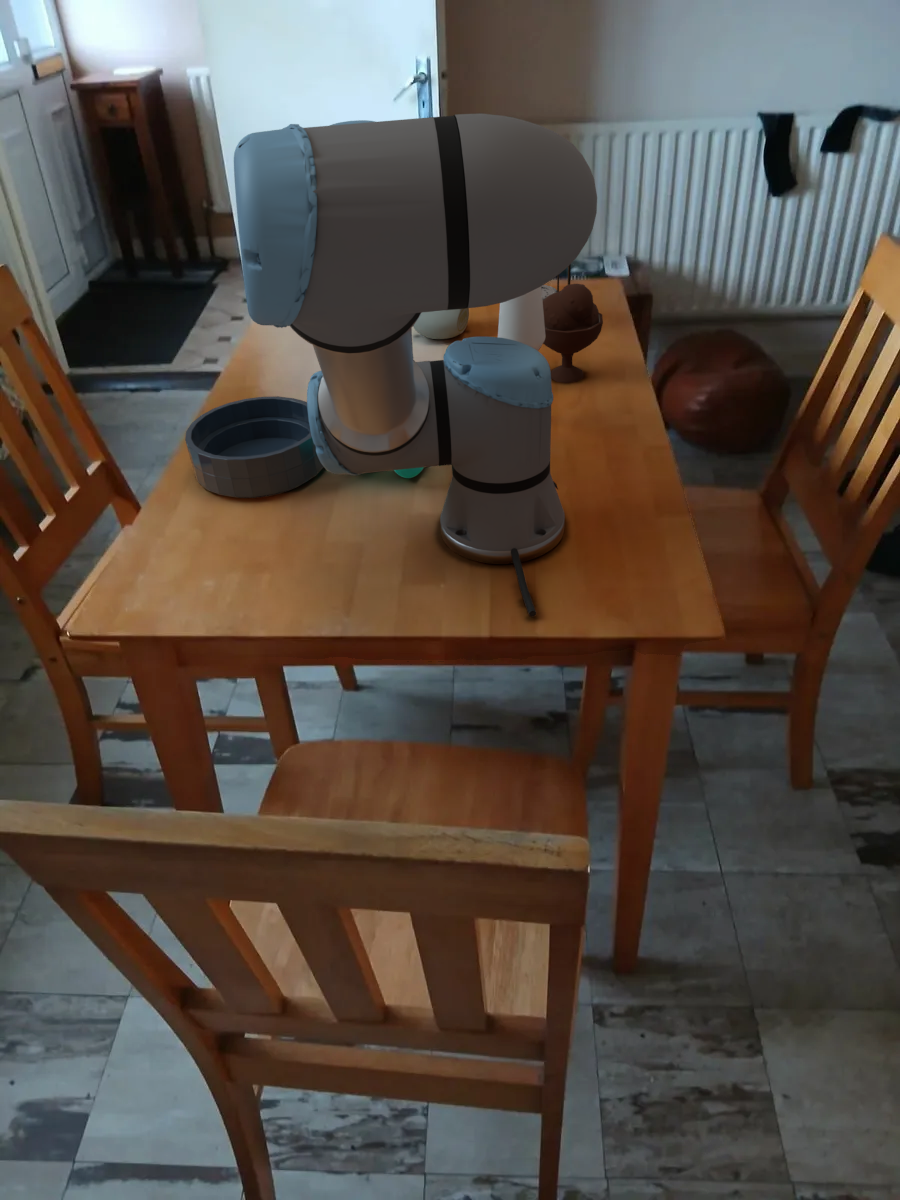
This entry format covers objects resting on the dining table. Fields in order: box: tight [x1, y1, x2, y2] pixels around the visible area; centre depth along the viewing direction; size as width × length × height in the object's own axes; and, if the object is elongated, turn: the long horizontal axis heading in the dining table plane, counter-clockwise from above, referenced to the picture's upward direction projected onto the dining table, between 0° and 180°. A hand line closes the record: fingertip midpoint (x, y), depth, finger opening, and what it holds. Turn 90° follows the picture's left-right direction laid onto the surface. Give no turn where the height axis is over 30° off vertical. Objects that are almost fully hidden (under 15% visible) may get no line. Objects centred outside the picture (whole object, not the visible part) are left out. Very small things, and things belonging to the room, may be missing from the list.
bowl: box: [184, 395, 324, 499], centre depth 125 cm, size 19×19×6 cm
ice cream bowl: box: [542, 283, 604, 384], centre depth 141 cm, size 11×11×15 cm
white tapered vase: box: [497, 287, 545, 351], centre depth 126 cm, size 7×7×24 cm
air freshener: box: [412, 308, 470, 340], centre depth 159 cm, size 11×8×10 cm
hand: (386, 426), depth 120 cm, fingers open, 13 cm apart
